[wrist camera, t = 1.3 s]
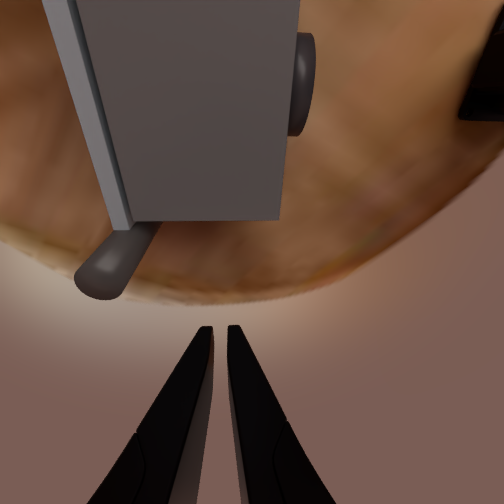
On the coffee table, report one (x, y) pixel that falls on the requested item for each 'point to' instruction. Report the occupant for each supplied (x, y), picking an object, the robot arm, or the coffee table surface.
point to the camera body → (201, 101)
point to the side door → (98, 162)
